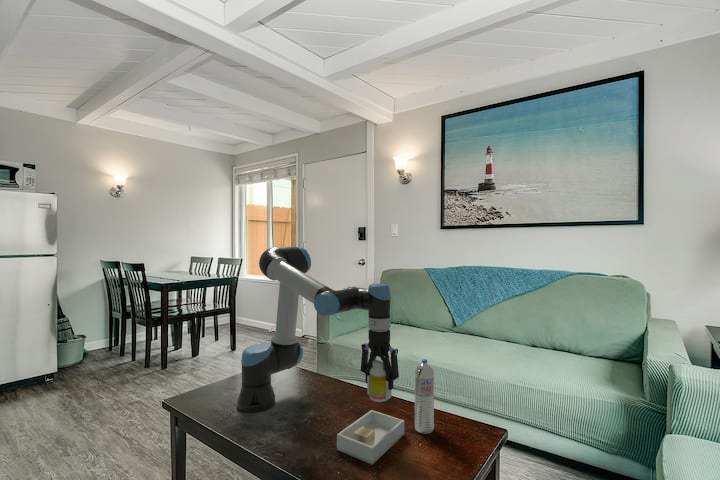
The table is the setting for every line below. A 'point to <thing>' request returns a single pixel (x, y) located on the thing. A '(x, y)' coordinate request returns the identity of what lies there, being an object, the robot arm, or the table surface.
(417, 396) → the water bottle
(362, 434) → the maple cube
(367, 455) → the tote
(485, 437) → the table surface
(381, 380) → the supplement bottle
